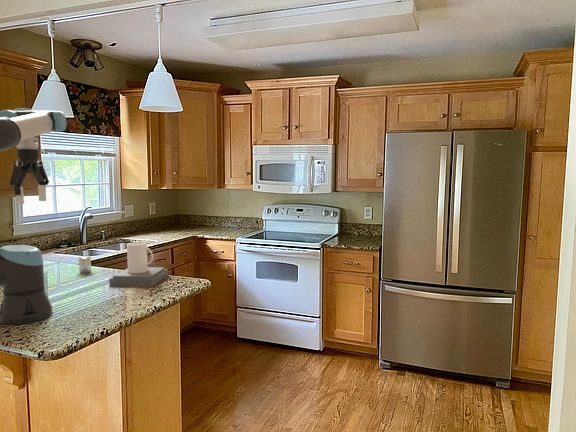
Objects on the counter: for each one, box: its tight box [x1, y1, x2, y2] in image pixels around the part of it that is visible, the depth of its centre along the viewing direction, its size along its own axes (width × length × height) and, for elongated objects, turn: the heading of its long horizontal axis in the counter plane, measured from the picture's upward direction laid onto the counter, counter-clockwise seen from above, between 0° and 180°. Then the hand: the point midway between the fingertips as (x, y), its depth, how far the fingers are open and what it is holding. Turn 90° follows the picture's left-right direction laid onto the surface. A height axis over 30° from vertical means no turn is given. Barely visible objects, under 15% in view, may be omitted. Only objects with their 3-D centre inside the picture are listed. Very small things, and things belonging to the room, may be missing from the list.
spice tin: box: [78, 256, 92, 275], centre depth 206 cm, size 5×5×7 cm
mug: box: [126, 241, 154, 273], centre depth 190 cm, size 12×8×12 cm
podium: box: [109, 266, 169, 288], centre depth 190 cm, size 18×18×4 cm
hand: (31, 202), depth 178 cm, fingers open, 13 cm apart
